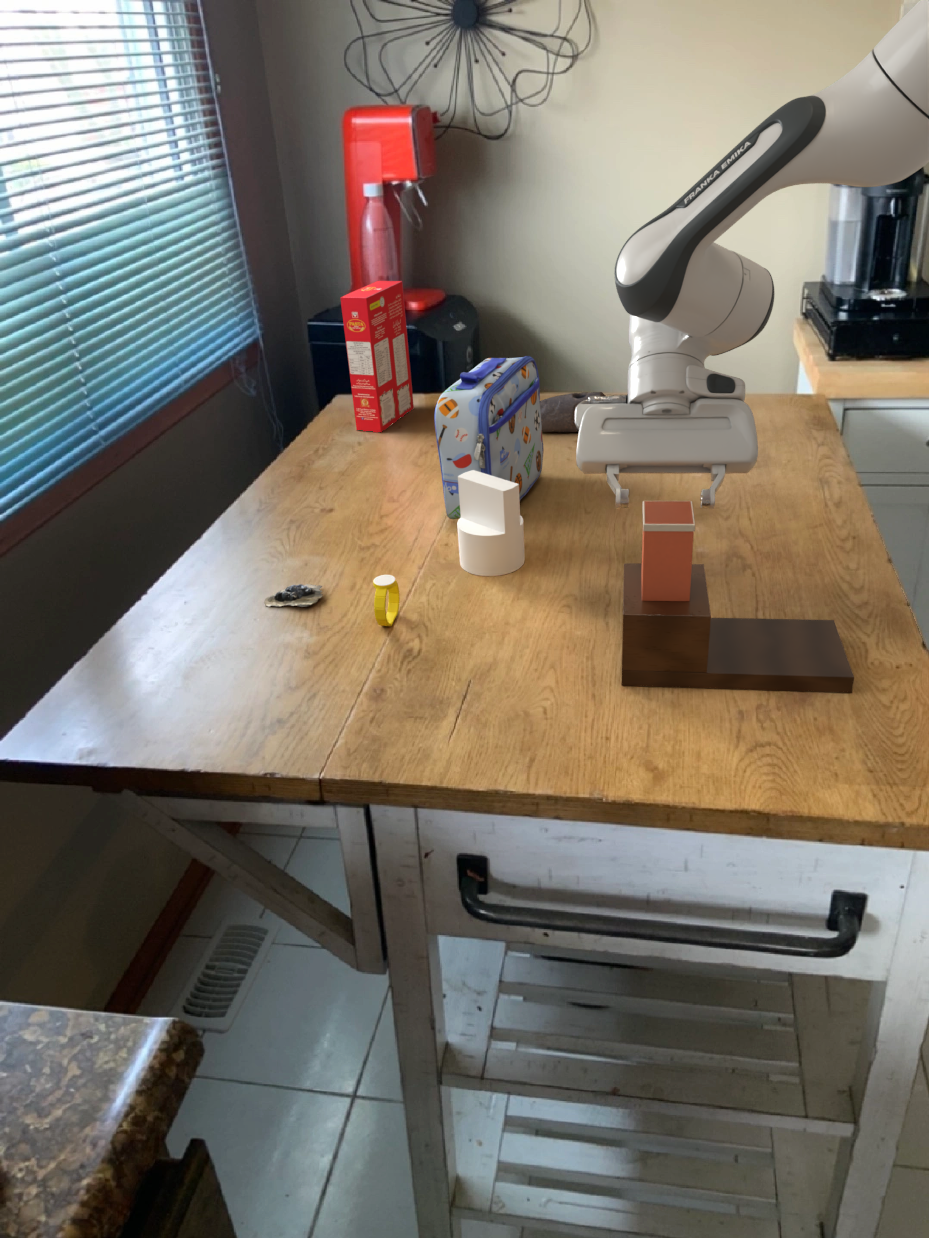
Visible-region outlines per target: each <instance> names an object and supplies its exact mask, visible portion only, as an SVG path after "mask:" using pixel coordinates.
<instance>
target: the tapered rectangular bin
mask: <svg viewBox="0 0 929 1238" xmlns="http://www.w3.org/2000/svg"><path fill="white" fill-rule="evenodd" d="M695 532H696V521H695V514H694V506H693V501H692V500H642V541H641V563H642V571H641V582H642V601H690V586H691V569H692V564H693V550H694V537H695V536H694V533H695Z"/></svg>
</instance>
